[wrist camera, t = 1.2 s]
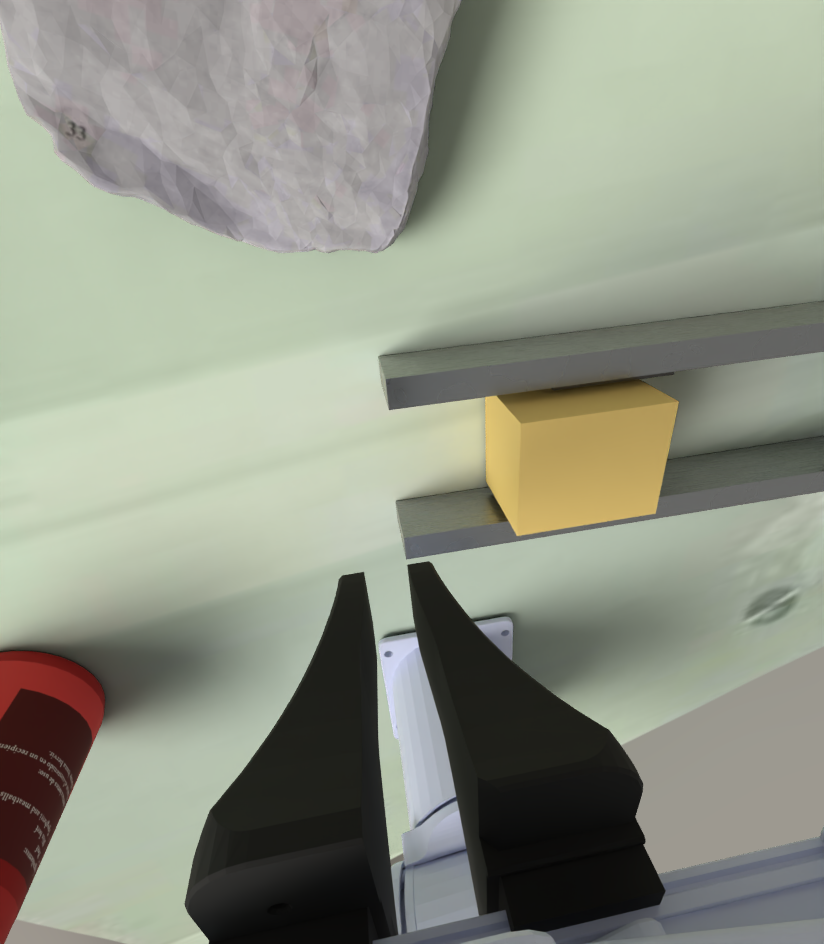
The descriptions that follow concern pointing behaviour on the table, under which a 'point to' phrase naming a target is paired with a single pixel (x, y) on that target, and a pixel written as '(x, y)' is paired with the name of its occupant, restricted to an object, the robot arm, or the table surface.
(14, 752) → the canned food
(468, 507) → the chute
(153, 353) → the table surface
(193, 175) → the stone block
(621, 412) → the block
